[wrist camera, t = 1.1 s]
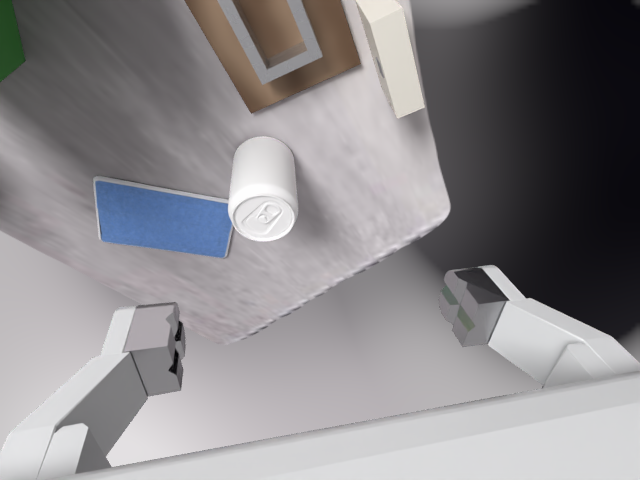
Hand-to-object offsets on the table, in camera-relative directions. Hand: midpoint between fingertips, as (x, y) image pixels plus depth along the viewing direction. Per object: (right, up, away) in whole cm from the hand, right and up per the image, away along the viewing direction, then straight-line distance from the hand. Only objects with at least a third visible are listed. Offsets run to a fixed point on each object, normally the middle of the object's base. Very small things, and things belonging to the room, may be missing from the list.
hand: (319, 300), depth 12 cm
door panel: (+7, +24, +31) cm, 40 cm away
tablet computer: (-23, +5, +46) cm, 52 cm away
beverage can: (-8, +13, +40) cm, 43 cm away
